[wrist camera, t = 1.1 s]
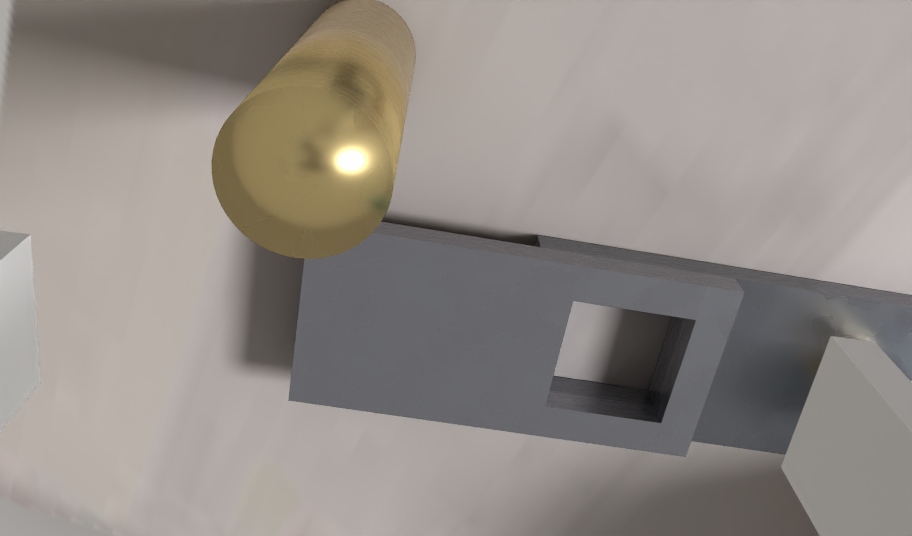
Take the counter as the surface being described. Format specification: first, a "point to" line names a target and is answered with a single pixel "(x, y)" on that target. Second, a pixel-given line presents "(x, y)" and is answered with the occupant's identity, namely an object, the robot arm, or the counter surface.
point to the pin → (320, 135)
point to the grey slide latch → (542, 330)
